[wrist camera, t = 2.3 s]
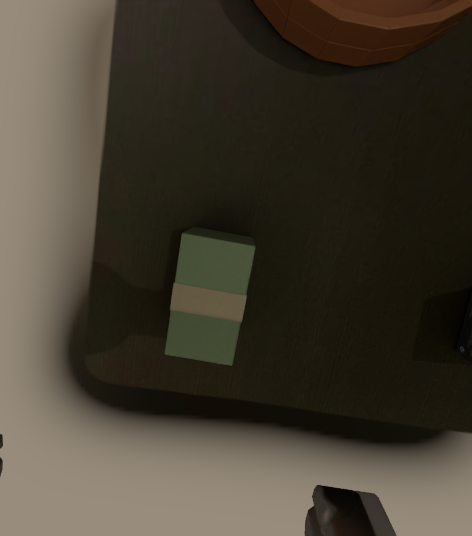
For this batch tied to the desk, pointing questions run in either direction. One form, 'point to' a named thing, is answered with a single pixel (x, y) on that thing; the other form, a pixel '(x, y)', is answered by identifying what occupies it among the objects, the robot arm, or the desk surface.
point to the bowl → (363, 26)
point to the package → (209, 295)
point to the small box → (466, 335)
